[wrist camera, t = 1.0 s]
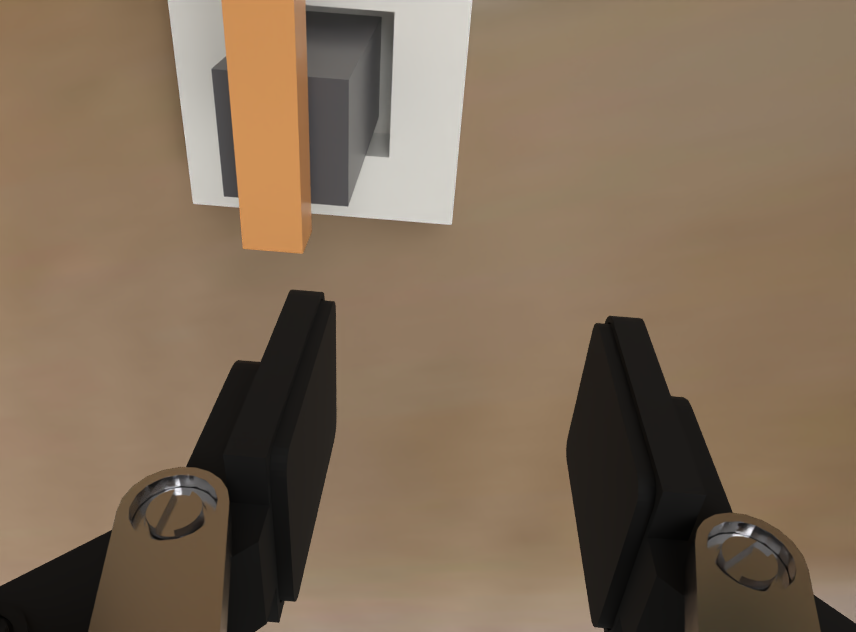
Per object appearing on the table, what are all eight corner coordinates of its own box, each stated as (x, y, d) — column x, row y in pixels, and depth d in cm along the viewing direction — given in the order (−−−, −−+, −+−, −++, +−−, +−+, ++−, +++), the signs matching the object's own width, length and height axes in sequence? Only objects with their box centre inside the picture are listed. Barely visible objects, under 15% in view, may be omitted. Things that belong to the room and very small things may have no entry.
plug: (381, 16, 31) (348, 79, 23) (378, 116, 34) (348, 206, 25) (280, 8, 31) (211, 68, 23) (285, 108, 34) (224, 196, 25)
